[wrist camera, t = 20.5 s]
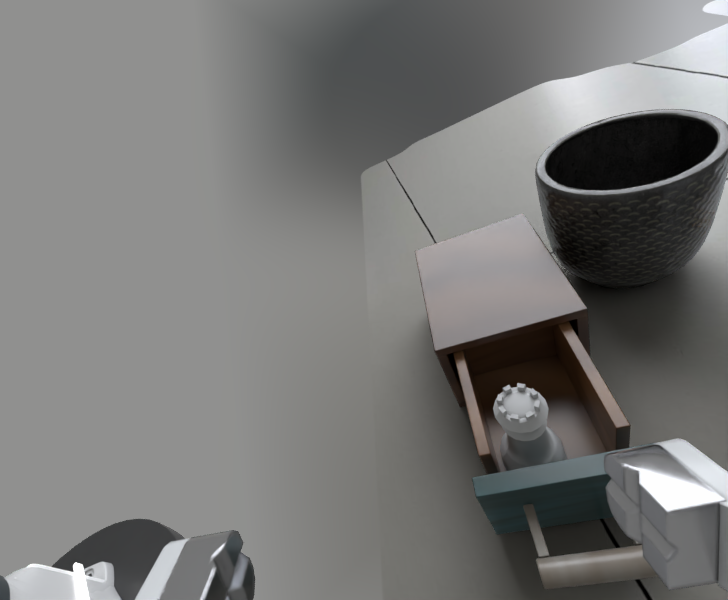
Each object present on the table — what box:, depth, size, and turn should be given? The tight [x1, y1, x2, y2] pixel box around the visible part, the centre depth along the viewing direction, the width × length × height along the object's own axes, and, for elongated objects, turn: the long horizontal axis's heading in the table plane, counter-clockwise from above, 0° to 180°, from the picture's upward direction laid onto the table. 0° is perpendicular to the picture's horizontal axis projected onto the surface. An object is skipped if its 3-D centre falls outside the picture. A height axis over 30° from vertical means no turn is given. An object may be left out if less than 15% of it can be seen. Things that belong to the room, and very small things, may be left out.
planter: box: [535, 109, 728, 288], centre depth 37 cm, size 14×14×13 cm
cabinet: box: [415, 213, 590, 407], centre depth 38 cm, size 15×12×9 cm
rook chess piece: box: [493, 383, 567, 471], centre depth 26 cm, size 4×4×8 cm
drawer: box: [453, 321, 658, 589], centre depth 27 cm, size 18×10×7 cm, turn 3°
